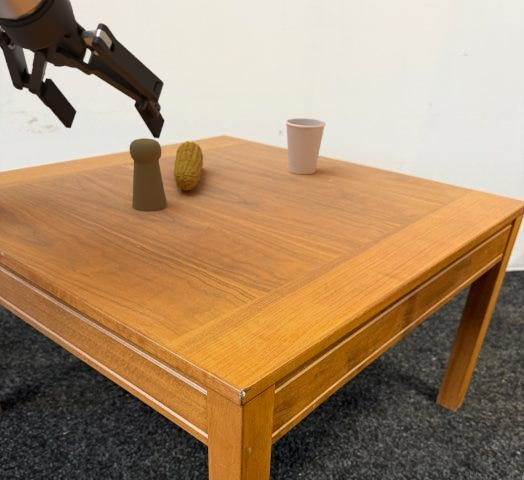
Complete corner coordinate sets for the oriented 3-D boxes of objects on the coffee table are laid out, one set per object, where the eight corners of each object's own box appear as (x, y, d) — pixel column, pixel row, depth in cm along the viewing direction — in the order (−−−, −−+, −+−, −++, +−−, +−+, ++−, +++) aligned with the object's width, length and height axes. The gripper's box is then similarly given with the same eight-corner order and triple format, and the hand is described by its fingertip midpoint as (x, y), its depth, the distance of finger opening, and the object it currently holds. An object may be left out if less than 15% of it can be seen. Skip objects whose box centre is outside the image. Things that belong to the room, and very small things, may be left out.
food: (177, 167, 118) (175, 138, 115) (203, 167, 119) (202, 138, 115) (172, 196, 100) (170, 163, 97) (203, 197, 101) (202, 163, 98)
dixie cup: (302, 178, 114) (306, 127, 109) (274, 169, 119) (277, 120, 114) (329, 172, 119) (334, 123, 113) (301, 164, 124) (305, 116, 119)
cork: (124, 206, 95) (117, 139, 89) (148, 198, 99) (143, 134, 94) (151, 213, 92) (146, 145, 87) (174, 204, 97) (170, 139, 91)
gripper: (142, -36, 53) (205, 108, 73) (-68, -43, 59) (45, 93, 79) (120, 30, 51) (190, 158, 72) (-93, 16, 57) (28, 138, 78)
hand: (114, 124), depth 75 cm, fingers open, 13 cm apart
